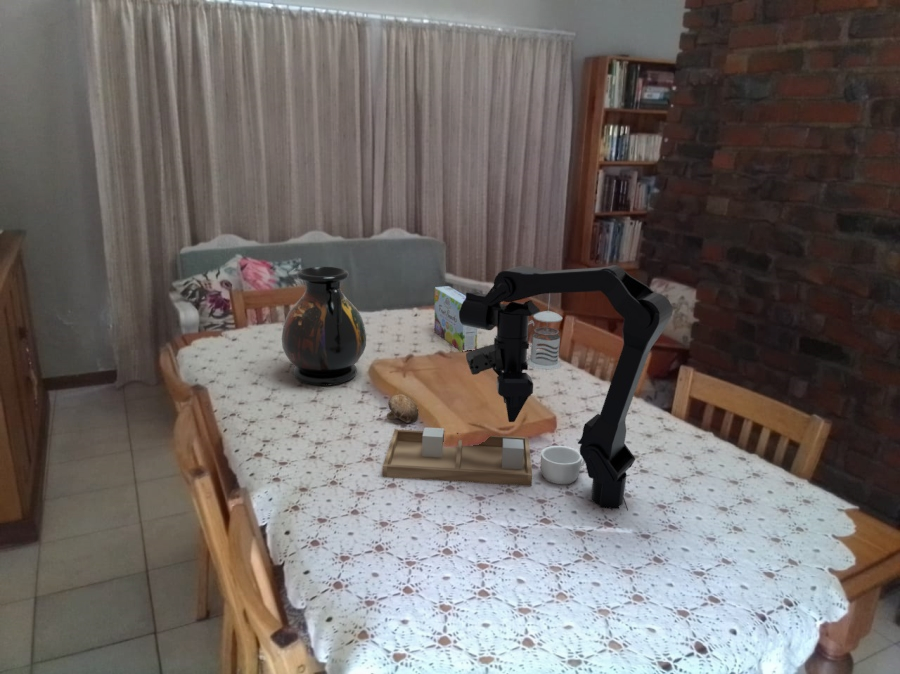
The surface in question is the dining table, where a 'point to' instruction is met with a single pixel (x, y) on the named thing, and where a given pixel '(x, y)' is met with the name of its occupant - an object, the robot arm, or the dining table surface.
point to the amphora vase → (323, 330)
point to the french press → (545, 342)
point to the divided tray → (454, 461)
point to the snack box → (452, 319)
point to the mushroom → (402, 408)
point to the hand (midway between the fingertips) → (509, 411)
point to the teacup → (560, 464)
